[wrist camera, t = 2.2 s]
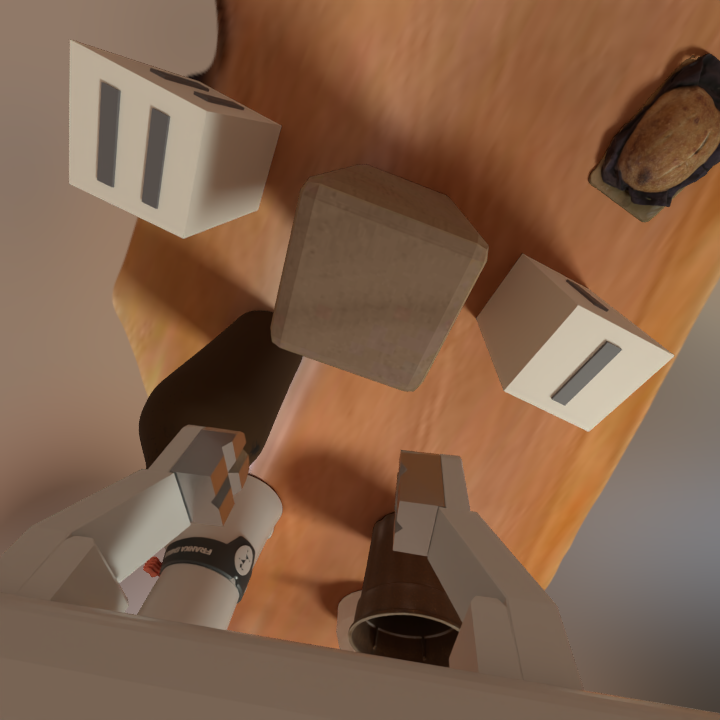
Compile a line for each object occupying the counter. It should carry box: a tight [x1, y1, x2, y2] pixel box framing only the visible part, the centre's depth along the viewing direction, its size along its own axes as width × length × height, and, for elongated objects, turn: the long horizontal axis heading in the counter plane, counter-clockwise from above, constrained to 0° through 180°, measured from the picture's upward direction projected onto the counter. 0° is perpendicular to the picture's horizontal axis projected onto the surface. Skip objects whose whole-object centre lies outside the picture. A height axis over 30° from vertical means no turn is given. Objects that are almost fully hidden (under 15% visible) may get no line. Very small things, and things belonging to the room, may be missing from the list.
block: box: [270, 164, 489, 391], centre depth 28 cm, size 10×10×20 cm
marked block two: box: [69, 39, 282, 239], centre depth 28 cm, size 8×8×14 cm
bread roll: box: [588, 53, 720, 222], centre depth 29 cm, size 11×8×4 cm
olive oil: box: [139, 311, 302, 469], centre depth 34 cm, size 11×11×25 cm
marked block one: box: [476, 253, 674, 432], centre depth 32 cm, size 8×8×14 cm
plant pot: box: [348, 513, 462, 668], centre depth 53 cm, size 16×16×16 cm
